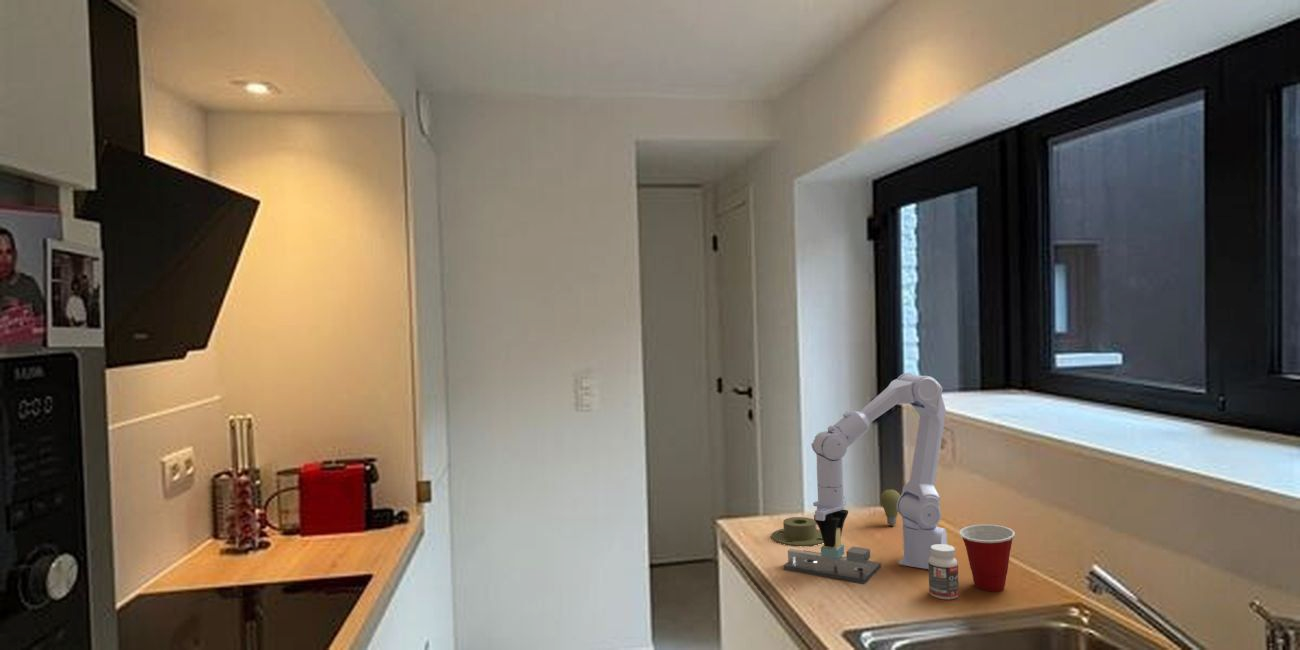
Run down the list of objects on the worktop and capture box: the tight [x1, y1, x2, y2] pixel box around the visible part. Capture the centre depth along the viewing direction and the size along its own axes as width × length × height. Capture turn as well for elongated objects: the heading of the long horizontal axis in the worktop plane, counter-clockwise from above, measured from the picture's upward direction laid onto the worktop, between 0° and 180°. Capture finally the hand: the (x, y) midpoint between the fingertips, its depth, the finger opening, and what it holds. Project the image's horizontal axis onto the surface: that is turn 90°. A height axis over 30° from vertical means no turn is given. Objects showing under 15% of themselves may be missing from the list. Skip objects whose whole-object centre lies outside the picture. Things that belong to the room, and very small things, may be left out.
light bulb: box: [879, 488, 901, 527], centre depth 199 cm, size 6×6×10 cm
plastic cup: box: [958, 524, 1016, 592], centre depth 154 cm, size 11×11×12 cm
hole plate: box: [783, 549, 882, 585], centre depth 168 cm, size 19×12×1 cm, turn 56°
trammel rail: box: [787, 546, 871, 575], centre depth 166 cm, size 19×4×5 cm, turn 56°
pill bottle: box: [928, 544, 960, 600], centre depth 150 cm, size 6×6×10 cm
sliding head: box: [820, 528, 845, 565], centre depth 166 cm, size 4×4×9 cm
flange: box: [770, 516, 823, 547], centre depth 192 cm, size 5×15×15 cm
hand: (832, 544), depth 166 cm, fingers closed on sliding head, 3 cm apart
